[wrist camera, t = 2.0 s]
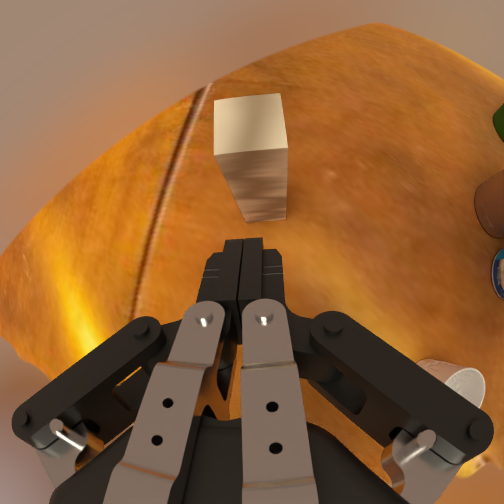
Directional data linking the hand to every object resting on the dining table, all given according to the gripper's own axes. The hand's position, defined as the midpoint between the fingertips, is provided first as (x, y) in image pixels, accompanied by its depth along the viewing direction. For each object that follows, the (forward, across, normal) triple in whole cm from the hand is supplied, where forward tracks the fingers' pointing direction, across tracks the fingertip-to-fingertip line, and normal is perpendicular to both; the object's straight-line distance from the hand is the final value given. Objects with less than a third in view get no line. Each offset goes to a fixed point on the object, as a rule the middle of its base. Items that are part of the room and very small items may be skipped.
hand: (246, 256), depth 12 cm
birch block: (+24, 0, +9) cm, 25 cm away
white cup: (+6, -20, +27) cm, 34 cm away
